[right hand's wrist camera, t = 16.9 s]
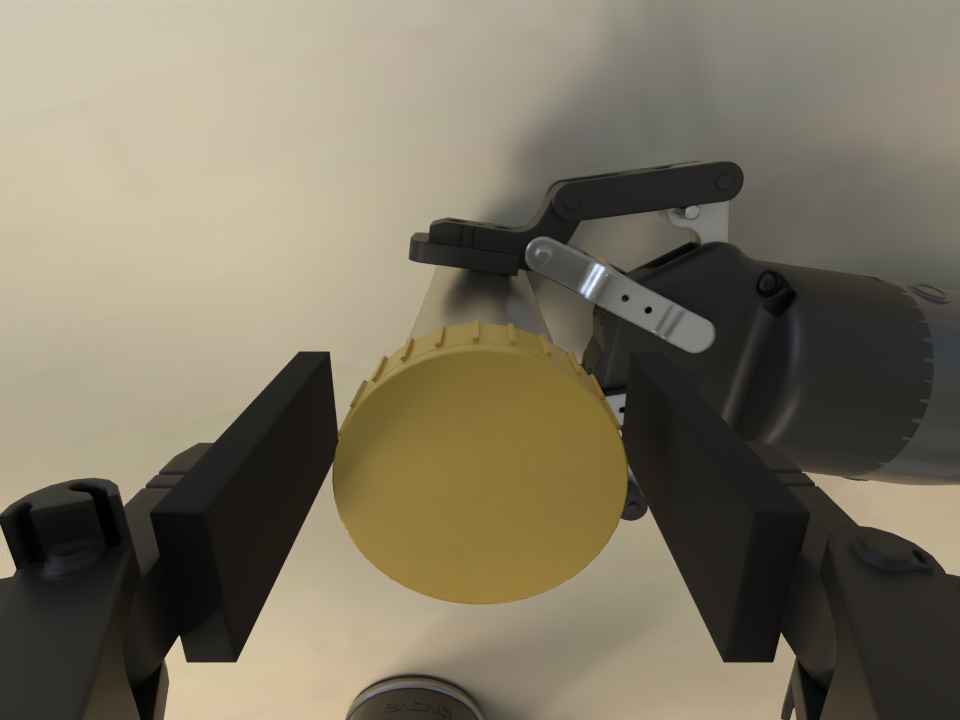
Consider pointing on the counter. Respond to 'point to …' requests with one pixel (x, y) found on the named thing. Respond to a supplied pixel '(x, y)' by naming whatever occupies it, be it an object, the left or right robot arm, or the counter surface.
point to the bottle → (479, 302)
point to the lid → (480, 465)
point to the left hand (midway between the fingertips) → (407, 316)
